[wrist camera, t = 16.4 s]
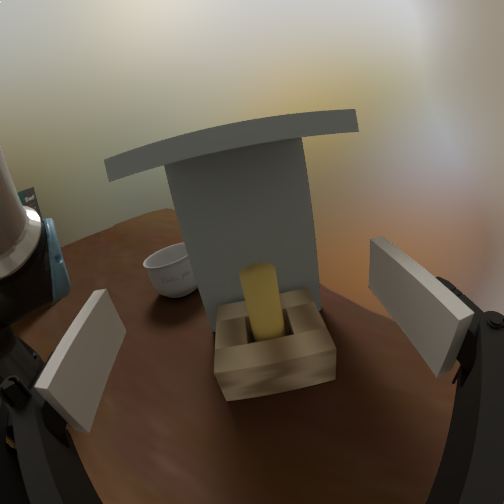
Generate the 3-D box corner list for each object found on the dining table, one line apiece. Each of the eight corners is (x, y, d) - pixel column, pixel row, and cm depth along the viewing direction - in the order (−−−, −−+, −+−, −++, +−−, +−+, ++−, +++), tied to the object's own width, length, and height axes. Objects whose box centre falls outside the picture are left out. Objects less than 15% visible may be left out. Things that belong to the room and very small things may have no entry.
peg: (260, 369, 30) (239, 283, 25) (257, 349, 33) (238, 266, 29) (290, 363, 30) (277, 275, 25) (285, 343, 33) (272, 259, 29)
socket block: (226, 401, 26) (213, 372, 24) (226, 334, 37) (217, 305, 35) (335, 379, 26) (336, 348, 24) (309, 317, 37) (306, 287, 35)
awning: (208, 417, 24) (103, 159, 14) (213, 323, 40) (164, 150, 30) (358, 387, 24) (355, 109, 14) (317, 302, 40) (295, 124, 30)
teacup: (171, 312, 45) (155, 271, 42) (147, 293, 53) (134, 258, 50) (231, 277, 53) (221, 239, 50) (201, 265, 61) (191, 232, 58)
